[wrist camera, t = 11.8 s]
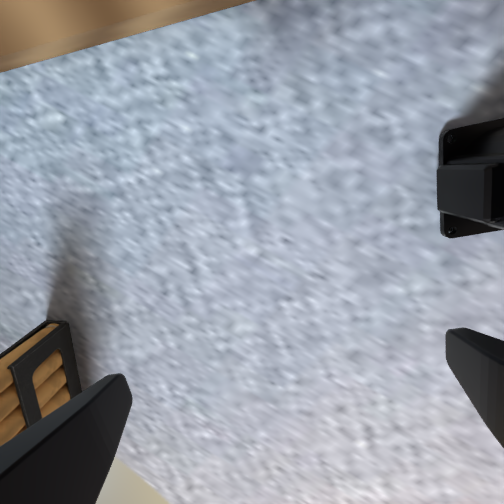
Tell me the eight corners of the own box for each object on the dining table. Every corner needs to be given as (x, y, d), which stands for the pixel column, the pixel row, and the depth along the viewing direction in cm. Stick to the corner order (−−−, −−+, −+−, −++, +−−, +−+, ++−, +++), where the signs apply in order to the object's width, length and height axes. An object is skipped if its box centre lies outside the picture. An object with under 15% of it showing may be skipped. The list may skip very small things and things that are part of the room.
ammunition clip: (45, 319, 22) (-196, 482, 11) (67, 320, 22) (-152, 486, 11) (68, 424, 25) (-100, 638, 14) (88, 426, 25) (-64, 642, 14)
